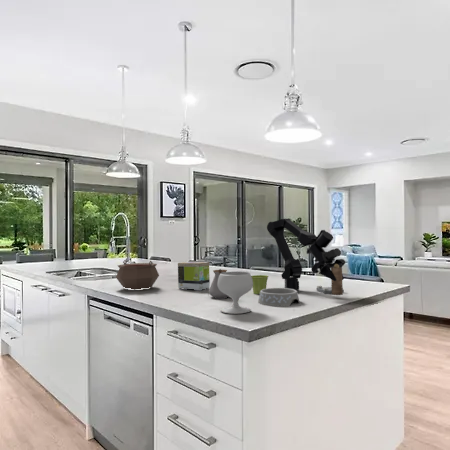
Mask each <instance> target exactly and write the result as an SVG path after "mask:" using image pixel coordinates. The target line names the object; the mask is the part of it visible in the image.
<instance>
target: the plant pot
mask: <svg viewBox="0 0 450 450" xmlns="http://www.w3.org/2000/svg"><path fill="white" fill-rule="evenodd" d="M251 277H252V280H253V287H252V291H253V294H255V295H260V291H261V290H263V289H267V286H268V285H267V283H268V279H269V275H265V274H264V275H262V274H257V275H256V274H255V275H251Z"/></svg>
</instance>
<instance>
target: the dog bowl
mask: <svg viewBox="0 0 450 450" xmlns="http://www.w3.org/2000/svg"><path fill="white" fill-rule="evenodd" d="M298 293H299V291H296V290H294V289H289V288H285V287H269V288H267V287H266V289H263V290H261V291H260V294H259V297H258V301H257V303H258V304H259V305H262V306H267V307H268V306H270V307H289V306H291V304H292V303H294V302H295V301H298V303H299V304H300V303H301V301H300V298H299V294H298Z"/></svg>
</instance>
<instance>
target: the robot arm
mask: <svg viewBox="0 0 450 450" xmlns="http://www.w3.org/2000/svg"><path fill="white" fill-rule="evenodd" d="M285 229H286V230H287V231H288V232H289V233H291V234H292V235H294V236H295V237H296V238H297V239H298V241H299V243H300V245H302V246H304V247H307V246H309V247H307V248H306V255H308V254H310V255H312V256H313V258H314V263H313V265H312V267H311V272H312V273H313V274H319V275H322V276H324V277H326V278H328V279H330V280H331V279H332V280H333V281H336V280H337V279H336V277H335V276H334V274H333V273H332V271H331V268H332V267H334V265H335V264H338V265H339V267H341V268H342V269H343V266H344V265H345V264H346V263H347V262H346V261H345V259H344V258H338V257H340V256H341V254H342V251H341V249H339V248H333V249H331V250H328V251H325V249H326V248H327V247H328V246H329V245H330V243H332V242H333V240H334V235H332V233H330V232H329V231H326V230H325V229H321V230H320V231H319V233H318V235H317V236H316V234H314V233H312V232H311V231H310V232H309V231H307V230H304V229H302V228H301V227H300V226H299V225H297V224H296V223H295V222H293V221H292V220H291V219H290V218H281V219H278V220H275V221H269V222H268V223H267V225H266V230H267V231H268V234H269V235H270V236H271V237H272V238H274V240H275V242H276V244H277V247H278V249H279V251H280V253H281V256H282V259H283V261H284V264H283V265H284V266H283V267H284V271H283V272H282V273H281V278H282V280H284V288H289V289H294V290H296V291H297V292H299V291H300V282H299V279H300V278H301V276H302V273H303V265H302V264H301V261H300V260H299V259H296V258H295V257H294V256H293V253H292V251H291V249H290V247H289V244H288V243H287V240H286V238H285V237H286V236H284V232H285ZM337 258H338V259H337ZM344 279H345V278H344V275H343V273H342V281H343V280H344Z"/></svg>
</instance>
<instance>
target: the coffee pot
mask: <svg viewBox="0 0 450 450" xmlns="http://www.w3.org/2000/svg"><path fill="white" fill-rule="evenodd" d="M212 271H213V274H214V277H213V280H212V282H211V284H210V288H209V289H208V294H209V295H210V296H211V297H212V298H213V297H215V298H214V299H228V298H230V297H229V296H228V295H226V294H224V293H223V292H221V291H220V290H219V288H218V285H217V283H218V278H219V275H220V274H221V273H223V272H228V270H227V269H221V268H220V269H214V270H213V269H212ZM227 297H228V298H227Z"/></svg>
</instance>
